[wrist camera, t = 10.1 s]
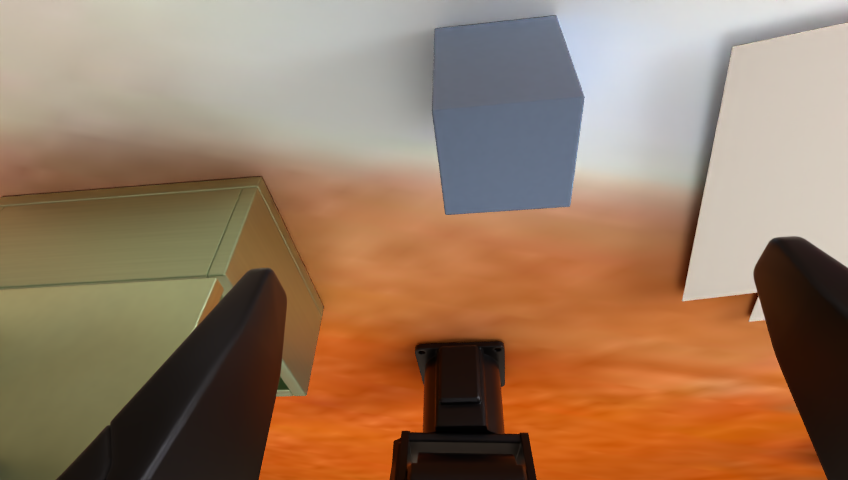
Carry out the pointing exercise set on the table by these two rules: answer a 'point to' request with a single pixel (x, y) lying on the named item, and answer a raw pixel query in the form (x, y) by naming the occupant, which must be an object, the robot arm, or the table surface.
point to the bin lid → (83, 362)
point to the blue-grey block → (505, 115)
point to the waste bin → (163, 247)
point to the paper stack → (775, 160)
